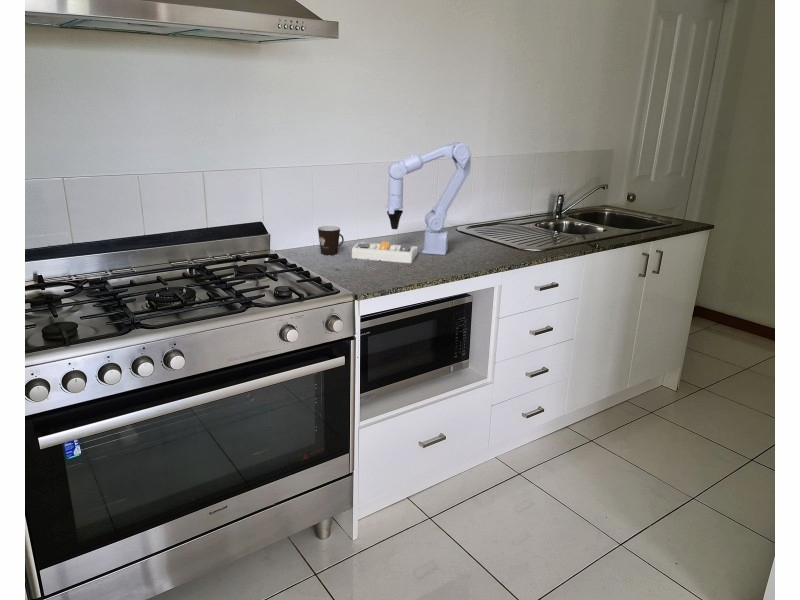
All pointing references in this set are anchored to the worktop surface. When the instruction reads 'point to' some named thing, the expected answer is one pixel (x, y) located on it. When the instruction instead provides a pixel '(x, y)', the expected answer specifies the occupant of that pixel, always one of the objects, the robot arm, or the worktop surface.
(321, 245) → the coffee mug
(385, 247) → the rocker middle
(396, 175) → the robot arm
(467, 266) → the worktop surface
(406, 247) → the rocker
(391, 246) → the power strip
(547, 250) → the worktop surface
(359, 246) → the rocker
